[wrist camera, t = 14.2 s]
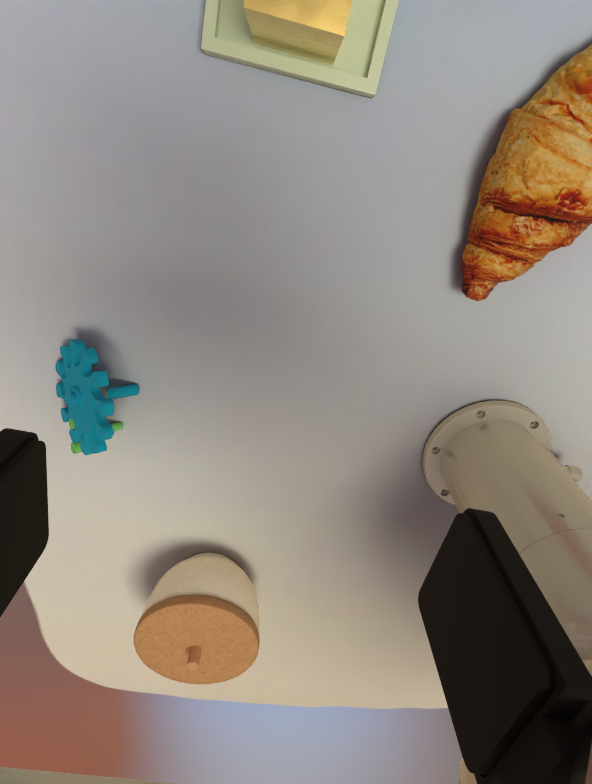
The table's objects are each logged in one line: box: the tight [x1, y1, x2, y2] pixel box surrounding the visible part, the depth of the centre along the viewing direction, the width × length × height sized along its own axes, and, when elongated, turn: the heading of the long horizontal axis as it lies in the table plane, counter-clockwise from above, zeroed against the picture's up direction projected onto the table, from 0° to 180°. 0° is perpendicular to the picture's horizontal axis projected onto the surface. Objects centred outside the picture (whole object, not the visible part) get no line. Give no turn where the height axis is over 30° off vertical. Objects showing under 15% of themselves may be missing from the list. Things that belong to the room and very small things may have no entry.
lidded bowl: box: [134, 553, 259, 684], centre depth 48 cm, size 13×13×11 cm
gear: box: [56, 339, 139, 455], centre depth 40 cm, size 11×6×10 cm
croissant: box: [462, 44, 592, 301], centre depth 32 cm, size 21×10×8 cm, turn 154°
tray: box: [201, 0, 399, 98], centre depth 29 cm, size 12×8×2 cm, turn 78°
